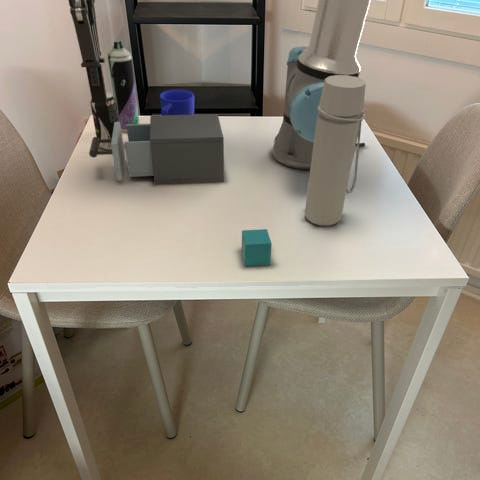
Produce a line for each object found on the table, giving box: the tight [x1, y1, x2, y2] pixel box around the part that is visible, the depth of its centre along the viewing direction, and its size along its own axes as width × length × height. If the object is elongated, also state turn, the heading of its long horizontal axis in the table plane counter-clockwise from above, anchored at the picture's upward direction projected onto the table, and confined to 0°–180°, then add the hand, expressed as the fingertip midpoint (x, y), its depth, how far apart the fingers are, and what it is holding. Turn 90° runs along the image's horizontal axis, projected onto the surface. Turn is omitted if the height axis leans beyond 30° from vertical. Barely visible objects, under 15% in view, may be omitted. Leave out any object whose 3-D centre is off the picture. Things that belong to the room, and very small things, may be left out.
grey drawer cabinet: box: [149, 113, 225, 185], centre depth 104 cm, size 15×13×10 cm
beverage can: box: [90, 91, 119, 151], centre depth 111 cm, size 6×6×12 cm
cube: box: [240, 228, 272, 267], centre depth 82 cm, size 4×4×4 cm
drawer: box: [88, 122, 154, 181], centre depth 103 cm, size 19×12×8 cm, turn 97°
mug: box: [159, 89, 195, 115], centre depth 116 cm, size 8×12×10 cm
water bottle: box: [304, 75, 367, 227], centre depth 85 cm, size 9×8×25 cm
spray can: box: [107, 40, 140, 133], centre depth 117 cm, size 6×6×20 cm
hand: (99, 101), depth 94 cm, fingers closed
